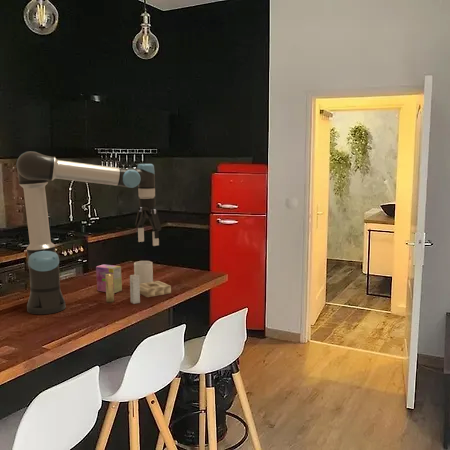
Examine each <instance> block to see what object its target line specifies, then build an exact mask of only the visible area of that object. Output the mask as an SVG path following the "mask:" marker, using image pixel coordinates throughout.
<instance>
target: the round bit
mask: <svg viewBox="0 0 450 450" xmlns="http://www.w3.org/2000/svg"><path fill="white" fill-rule="evenodd" d="M105 294H106V295H105V296H106V303H114V302H115V293H114V285H113V274H106V292H105Z"/></svg>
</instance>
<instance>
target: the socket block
mask: <svg viewBox="0 0 450 450" xmlns="http://www.w3.org/2000/svg"><path fill="white" fill-rule="evenodd" d="M167 294H172V285H170V284H167V283H165V282H162V281H160V280H153V282H147V283H141V284H140V296H144V297H145V298H151V297H157V296H163V295H167Z"/></svg>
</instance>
